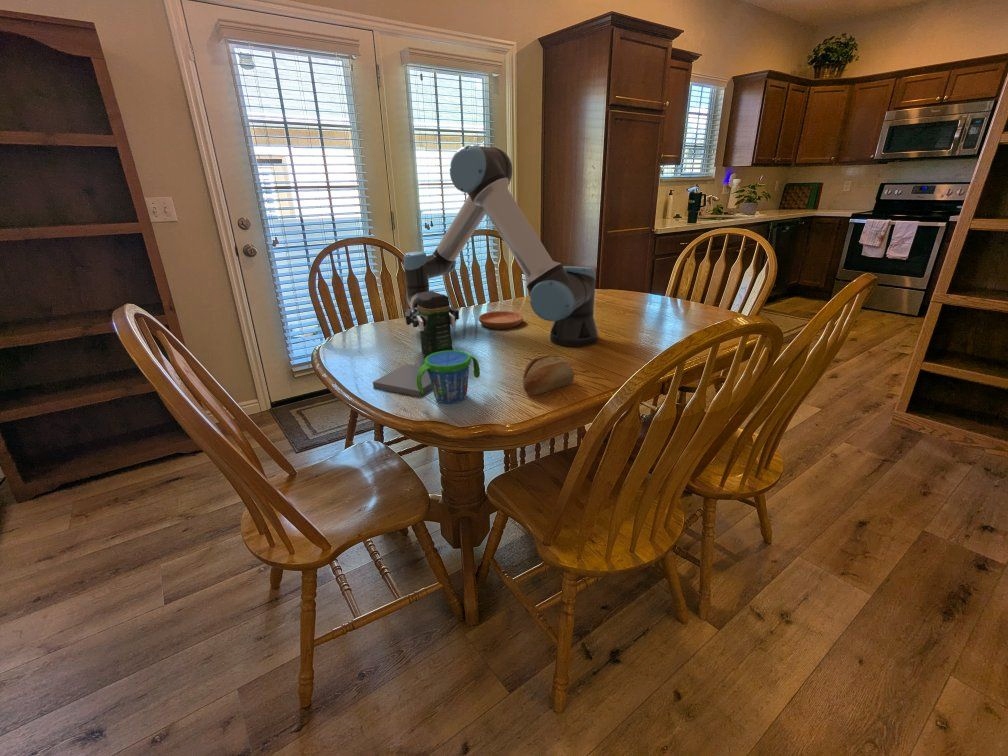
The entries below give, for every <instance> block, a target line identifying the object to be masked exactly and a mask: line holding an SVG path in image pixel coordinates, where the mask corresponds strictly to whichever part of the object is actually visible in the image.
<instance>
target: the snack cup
mask: <svg viewBox="0 0 1008 756" xmlns="http://www.w3.org/2000/svg"><path fill="white" fill-rule="evenodd" d="M471 363H472V366H473V368H472V369H473V371H472V372H473V373H472V375H473V377H475V378H476V379H479V377H480V375H481V370H480V365H479V362H478V360H477V358H476V357H474V356H473V355H470V354H469V353H468V352H465V351H462V350H454V349H453V350H448V351H440V352H436V353H433V354H430V355H429V356H425V358H424V363H423V364H422V365H420V366H421V367H420V369H419V372H418V375H417V387H418V390H419V391H420V392H421V393H424V391H423V387H422V383H421V378H422V375H423V374H424V372H425V371H426V370H427V371H428V373H429V377H430V380H431V385H432V389H431V390H432V392H433V396H434V398H435V399H436V400H435V401H436V402H439V403H442V404H443V403H444V404H453V403H458V402H461V401H463V400H465V399H466V397H467V393H468V386H469V385H468V384H469V374H470V373H469V371H470V366H471ZM424 394H425V393H424Z"/></svg>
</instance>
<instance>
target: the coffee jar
mask: <svg viewBox="0 0 1008 756" xmlns="http://www.w3.org/2000/svg"><path fill="white" fill-rule="evenodd" d="M449 299H450V297H449V296H448V295H446V294H442V293H439V292H437V291H436V292H435V291H434V290H429V291H428V292H421V293H420V294H419V295H418V297H417V306H418V311H419V316H420V318H421V319H422V320H423V327H424V331H421V330H420V344H421V345H420V346H421V353H422V354H423V355H424V356H425V357H427V356H429V355H430V354H433V353H436V352H440V351H448V350H454V348H453V340H452V339H453V337H452V330H451V325H450V318H449V310H450V307H451V305H450V300H449Z"/></svg>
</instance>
